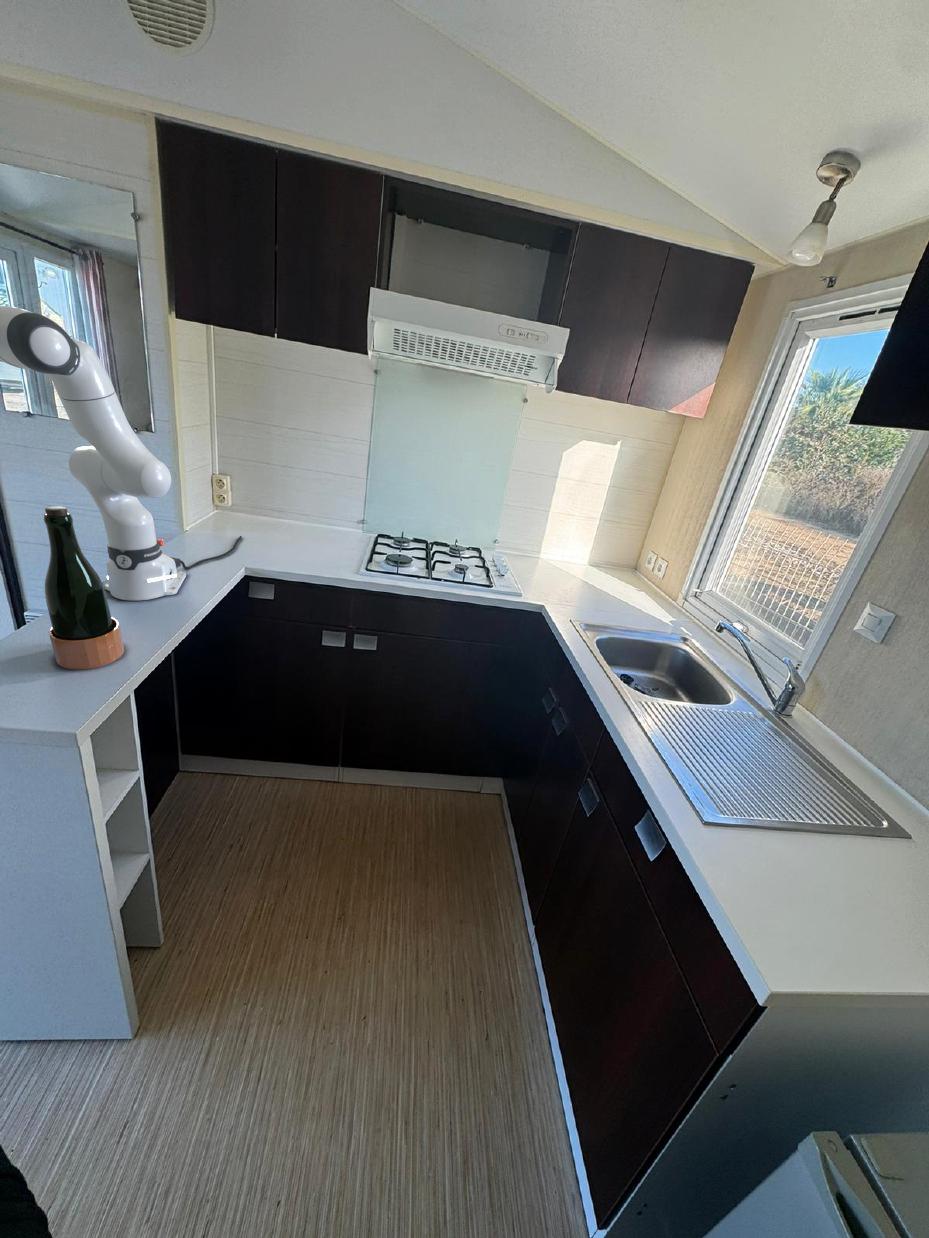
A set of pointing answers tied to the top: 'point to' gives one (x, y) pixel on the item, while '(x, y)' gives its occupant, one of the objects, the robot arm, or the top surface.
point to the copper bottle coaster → (88, 650)
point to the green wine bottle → (72, 584)
